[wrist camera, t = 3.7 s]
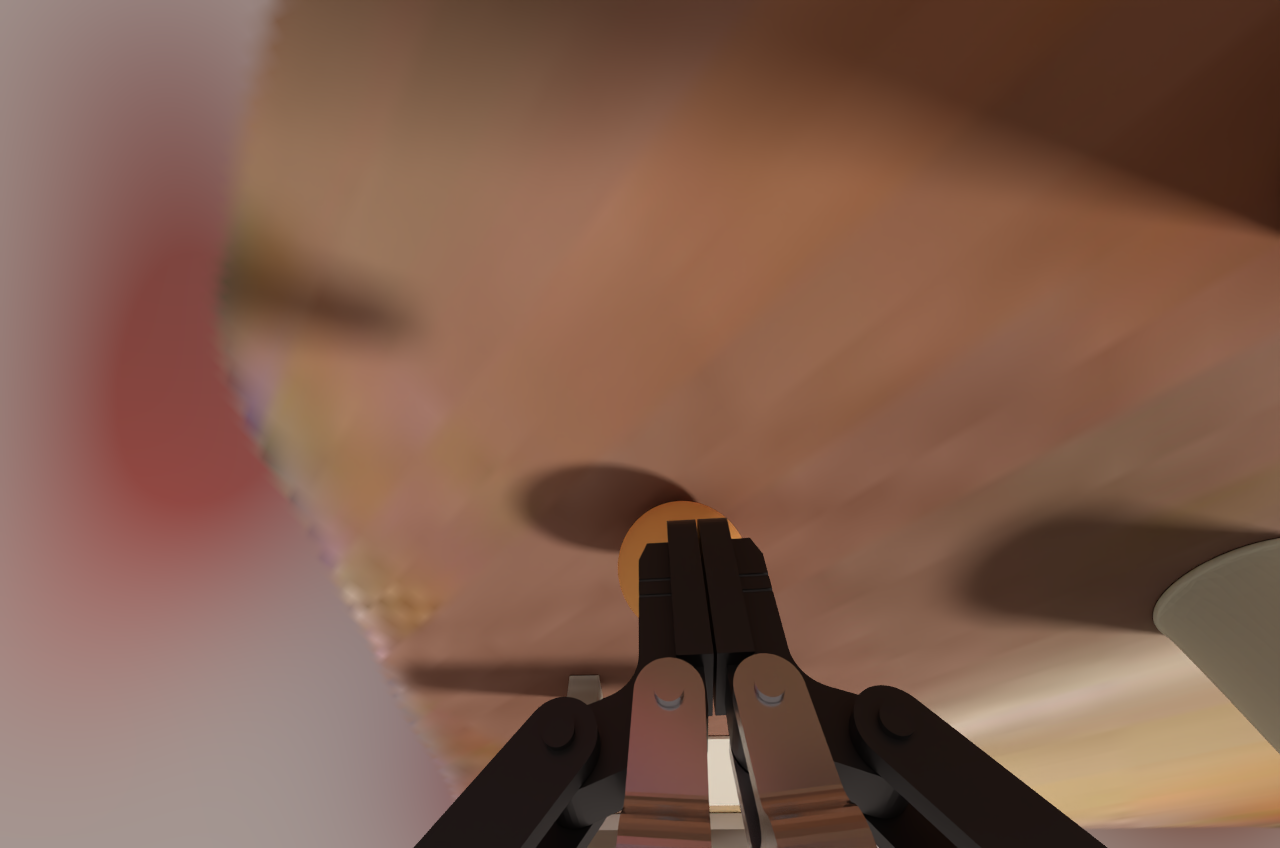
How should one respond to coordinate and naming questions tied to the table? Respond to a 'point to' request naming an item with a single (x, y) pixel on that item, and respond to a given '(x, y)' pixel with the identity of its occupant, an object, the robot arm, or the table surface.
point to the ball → (655, 540)
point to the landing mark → (720, 772)
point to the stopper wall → (715, 820)
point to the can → (1232, 628)
